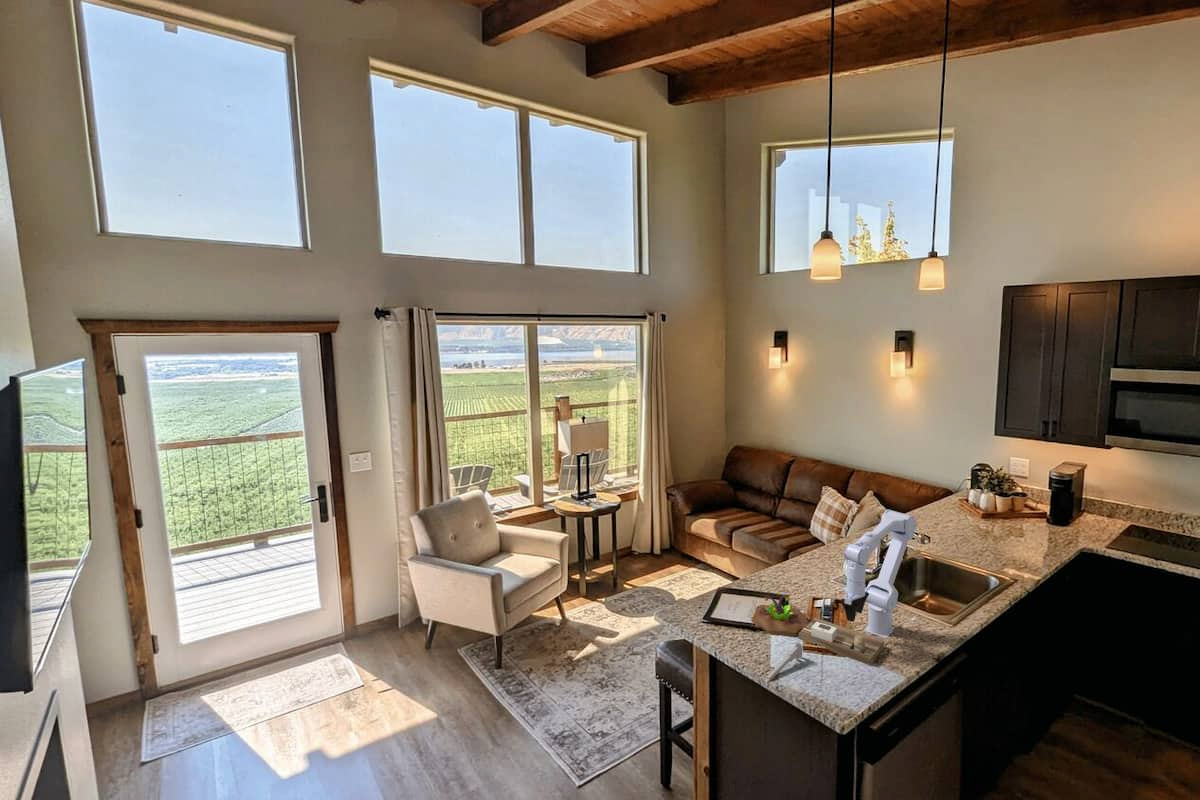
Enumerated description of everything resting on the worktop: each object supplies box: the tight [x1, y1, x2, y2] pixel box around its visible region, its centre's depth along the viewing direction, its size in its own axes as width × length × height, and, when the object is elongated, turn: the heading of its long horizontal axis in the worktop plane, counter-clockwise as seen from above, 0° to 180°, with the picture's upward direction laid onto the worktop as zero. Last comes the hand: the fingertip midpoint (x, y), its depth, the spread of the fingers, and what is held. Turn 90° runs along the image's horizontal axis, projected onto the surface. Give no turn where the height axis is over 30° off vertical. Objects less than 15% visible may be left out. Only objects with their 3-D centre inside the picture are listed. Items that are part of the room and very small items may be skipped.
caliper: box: [764, 640, 803, 683], centre depth 181 cm, size 20×1×6 cm, turn 131°
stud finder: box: [811, 622, 837, 642], centre depth 197 cm, size 5×7×3 cm
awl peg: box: [854, 636, 865, 653], centre depth 189 cm, size 3×3×6 cm
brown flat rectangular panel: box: [798, 617, 885, 666], centre depth 197 cm, size 14×24×2 cm, turn 47°
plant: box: [750, 595, 809, 638], centre depth 211 cm, size 20×20×11 cm
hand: (854, 616), depth 196 cm, fingers open, 7 cm apart
